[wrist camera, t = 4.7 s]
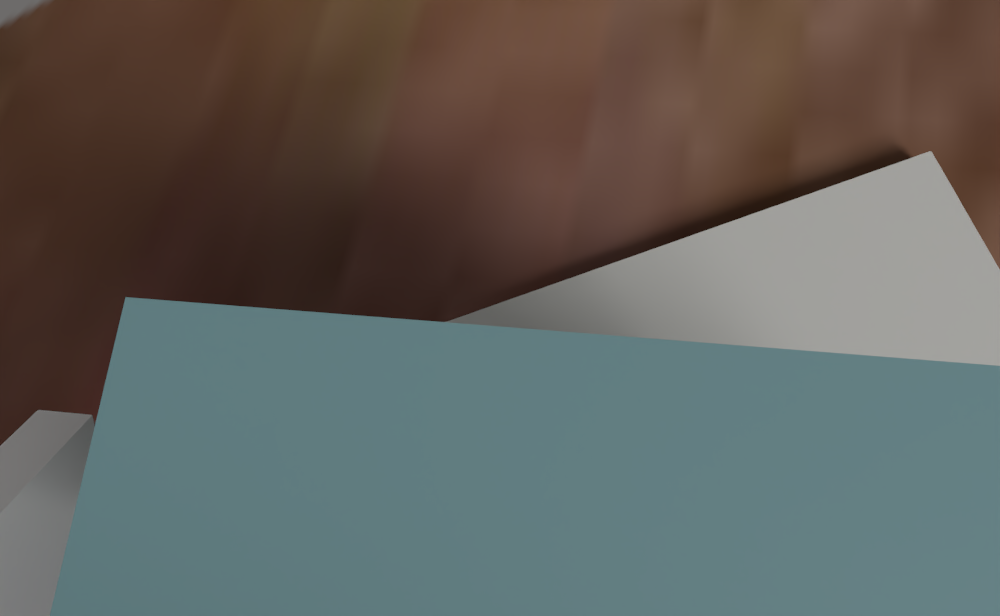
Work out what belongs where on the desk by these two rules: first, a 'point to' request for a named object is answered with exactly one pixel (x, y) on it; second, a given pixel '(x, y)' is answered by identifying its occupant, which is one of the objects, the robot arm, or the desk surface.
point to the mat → (801, 278)
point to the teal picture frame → (524, 474)
